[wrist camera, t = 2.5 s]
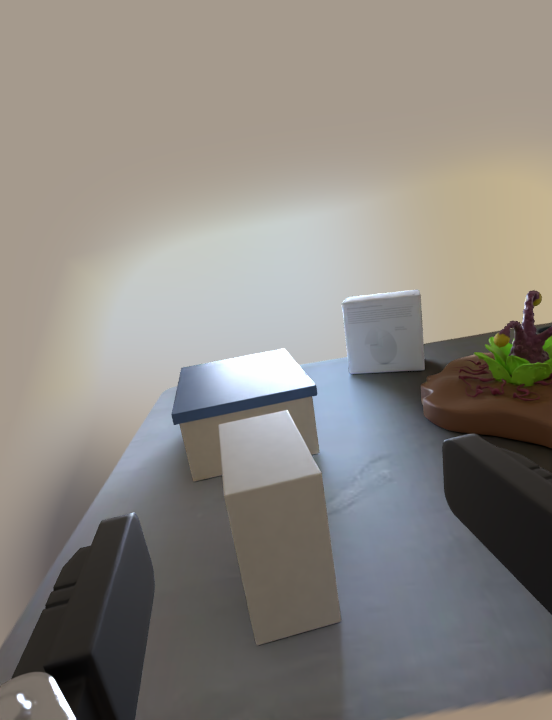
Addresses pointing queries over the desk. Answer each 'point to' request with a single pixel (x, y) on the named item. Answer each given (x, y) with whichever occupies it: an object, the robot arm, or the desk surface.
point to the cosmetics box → (384, 332)
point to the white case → (278, 526)
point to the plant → (498, 386)
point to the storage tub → (239, 402)
